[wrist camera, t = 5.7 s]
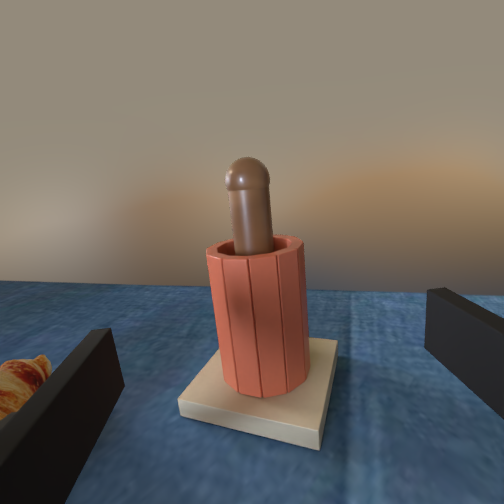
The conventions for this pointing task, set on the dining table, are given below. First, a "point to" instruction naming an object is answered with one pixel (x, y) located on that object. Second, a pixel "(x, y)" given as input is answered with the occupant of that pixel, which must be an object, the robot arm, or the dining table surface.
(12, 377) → the croissant
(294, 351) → the orange hollow tube
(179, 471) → the dining table surface
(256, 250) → the ring stand
